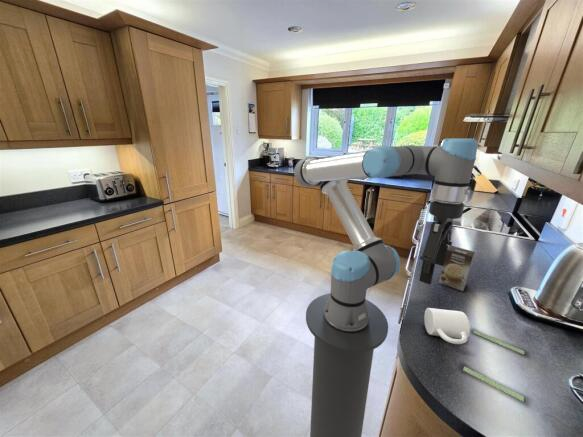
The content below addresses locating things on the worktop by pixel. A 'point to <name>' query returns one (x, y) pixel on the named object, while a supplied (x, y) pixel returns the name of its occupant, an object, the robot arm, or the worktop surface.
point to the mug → (447, 324)
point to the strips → (491, 380)
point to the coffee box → (456, 267)
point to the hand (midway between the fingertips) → (432, 272)
